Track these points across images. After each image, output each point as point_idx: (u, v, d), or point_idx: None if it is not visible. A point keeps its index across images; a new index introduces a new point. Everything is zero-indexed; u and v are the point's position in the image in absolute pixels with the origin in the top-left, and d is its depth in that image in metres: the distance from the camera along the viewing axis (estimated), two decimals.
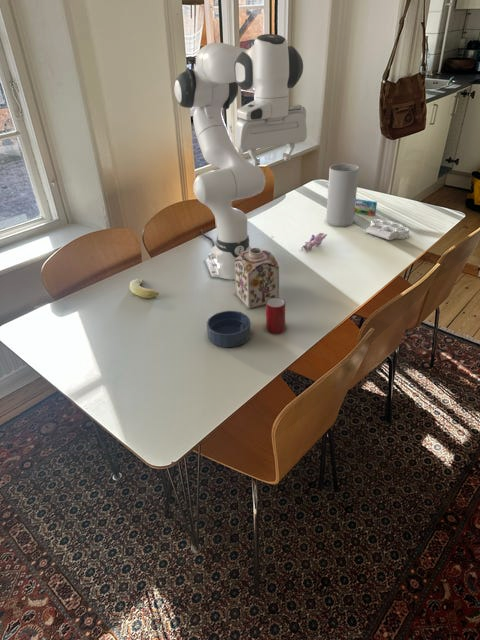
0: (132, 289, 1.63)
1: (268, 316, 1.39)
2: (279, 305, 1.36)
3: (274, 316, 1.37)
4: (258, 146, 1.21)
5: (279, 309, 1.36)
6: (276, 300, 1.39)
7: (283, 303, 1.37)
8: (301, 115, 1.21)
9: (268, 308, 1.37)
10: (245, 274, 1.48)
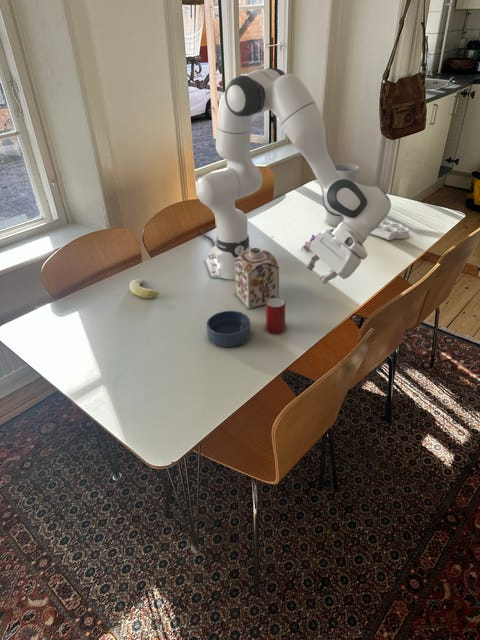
0: (132, 289, 1.63)
1: (268, 316, 1.39)
2: (279, 305, 1.36)
3: (274, 316, 1.37)
4: None
5: (279, 309, 1.36)
6: (276, 300, 1.39)
7: (283, 303, 1.37)
8: None
9: (268, 308, 1.37)
10: (245, 274, 1.48)
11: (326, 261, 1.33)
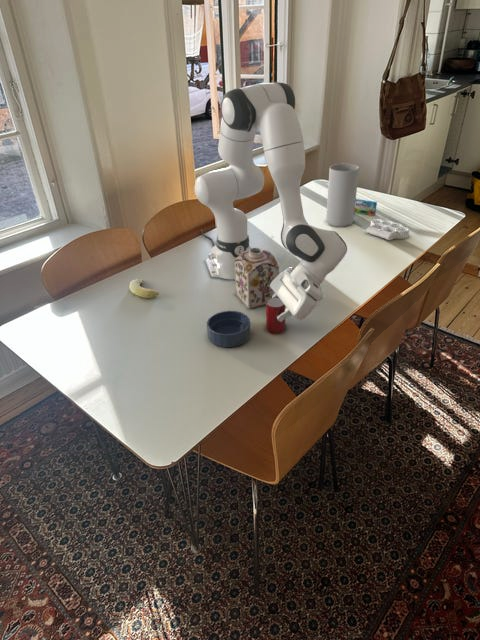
0: (132, 289, 1.63)
1: (268, 316, 1.39)
2: (279, 305, 1.37)
3: (274, 316, 1.38)
4: None
5: (279, 309, 1.36)
6: (276, 300, 1.39)
7: (283, 303, 1.37)
8: None
9: (268, 308, 1.37)
10: (245, 274, 1.48)
11: (284, 301, 1.36)
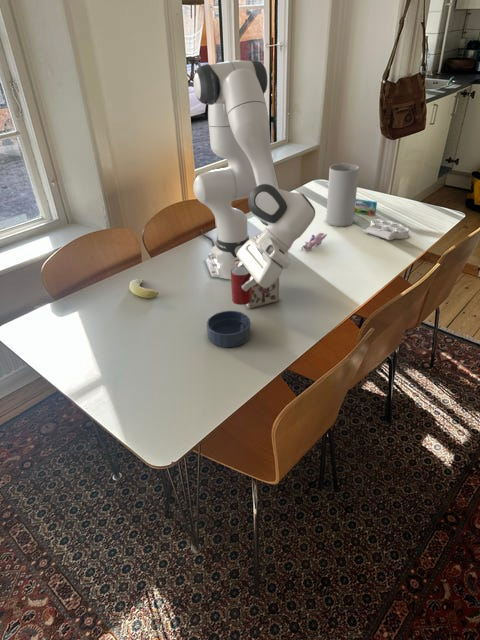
0: (132, 289, 1.63)
1: (233, 286, 1.31)
2: (244, 273, 1.28)
3: (239, 285, 1.29)
4: None
5: (244, 278, 1.28)
6: (241, 268, 1.31)
7: (248, 271, 1.29)
8: None
9: (232, 277, 1.29)
10: None
11: (249, 269, 1.28)
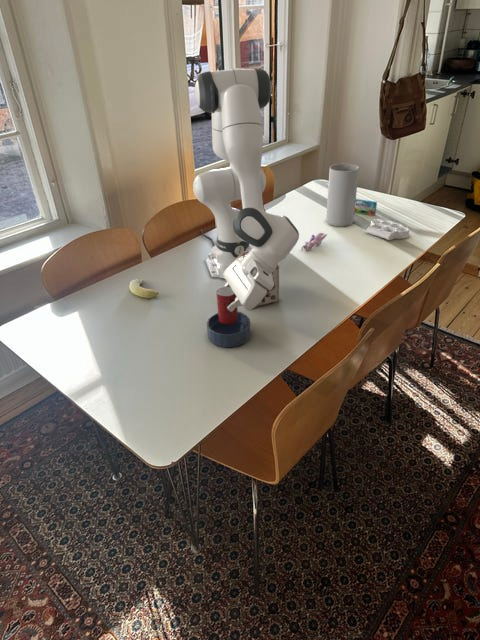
0: (132, 289, 1.63)
1: (219, 306, 1.33)
2: (229, 294, 1.31)
3: (225, 306, 1.32)
4: None
5: (229, 298, 1.30)
6: (227, 289, 1.33)
7: None
8: None
9: (218, 297, 1.31)
10: None
11: (234, 290, 1.30)
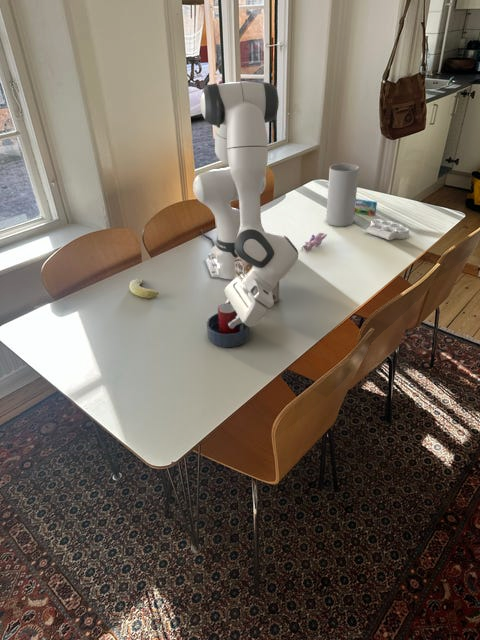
0: (132, 289, 1.63)
1: (220, 322, 1.36)
2: (230, 311, 1.34)
3: (226, 322, 1.35)
4: None
5: (230, 315, 1.34)
6: (228, 306, 1.36)
7: None
8: None
9: (219, 314, 1.35)
10: None
11: (235, 308, 1.34)
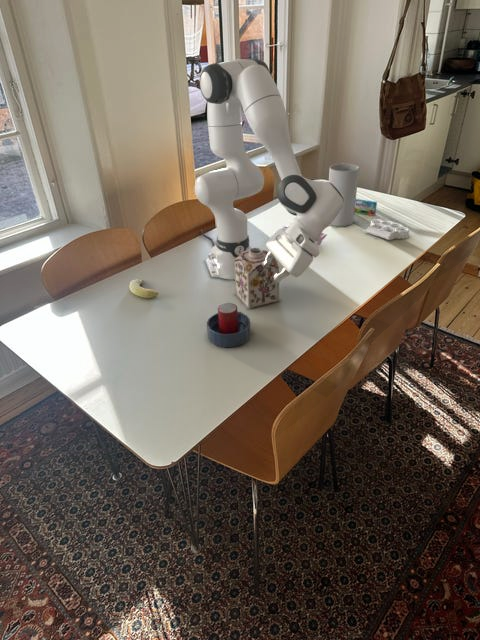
0: (132, 289, 1.63)
1: (220, 322, 1.36)
2: (230, 311, 1.34)
3: (226, 322, 1.35)
4: None
5: (230, 315, 1.34)
6: (228, 306, 1.36)
7: (235, 309, 1.35)
8: None
9: (219, 314, 1.35)
10: (245, 274, 1.48)
11: (279, 259, 1.31)
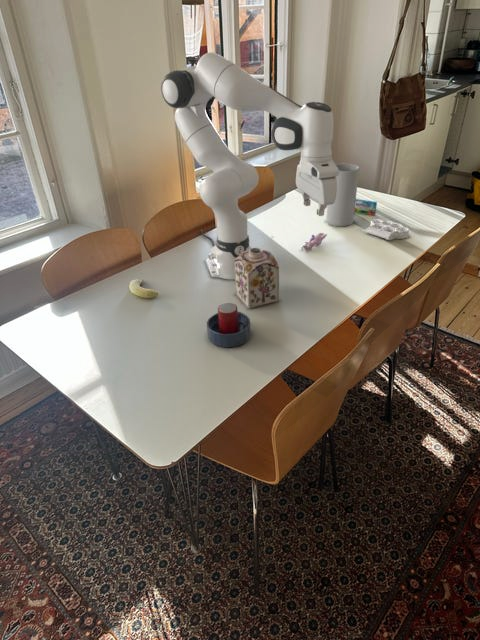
0: (132, 289, 1.63)
1: (220, 322, 1.36)
2: (230, 311, 1.34)
3: (226, 322, 1.35)
4: None
5: (230, 315, 1.34)
6: (228, 306, 1.36)
7: (235, 309, 1.35)
8: None
9: (219, 314, 1.35)
10: (245, 274, 1.48)
11: (311, 196, 1.36)
